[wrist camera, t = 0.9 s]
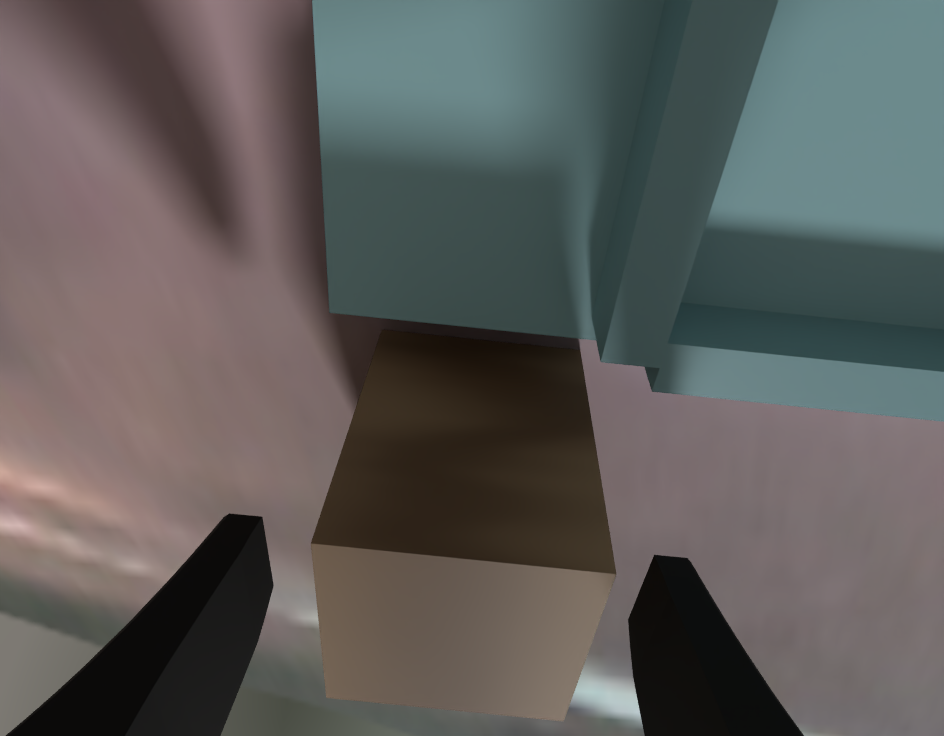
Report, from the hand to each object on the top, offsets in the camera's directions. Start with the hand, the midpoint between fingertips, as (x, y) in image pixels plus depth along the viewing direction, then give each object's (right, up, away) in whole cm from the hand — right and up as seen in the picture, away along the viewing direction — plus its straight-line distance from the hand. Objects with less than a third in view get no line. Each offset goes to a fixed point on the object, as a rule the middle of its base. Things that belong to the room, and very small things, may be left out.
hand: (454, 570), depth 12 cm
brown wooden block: (0, +3, +4) cm, 5 cm away
